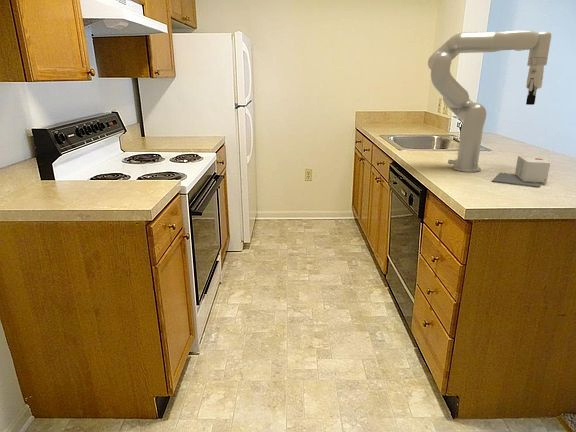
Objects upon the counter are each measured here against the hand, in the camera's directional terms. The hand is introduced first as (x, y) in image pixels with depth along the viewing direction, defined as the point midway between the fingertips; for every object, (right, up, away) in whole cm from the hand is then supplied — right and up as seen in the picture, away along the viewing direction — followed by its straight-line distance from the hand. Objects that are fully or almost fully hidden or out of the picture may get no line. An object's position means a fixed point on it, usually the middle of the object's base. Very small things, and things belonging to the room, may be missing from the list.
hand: (530, 104), depth 191 cm
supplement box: (-4, -28, -4) cm, 29 cm away
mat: (-11, -36, -9) cm, 38 cm away
